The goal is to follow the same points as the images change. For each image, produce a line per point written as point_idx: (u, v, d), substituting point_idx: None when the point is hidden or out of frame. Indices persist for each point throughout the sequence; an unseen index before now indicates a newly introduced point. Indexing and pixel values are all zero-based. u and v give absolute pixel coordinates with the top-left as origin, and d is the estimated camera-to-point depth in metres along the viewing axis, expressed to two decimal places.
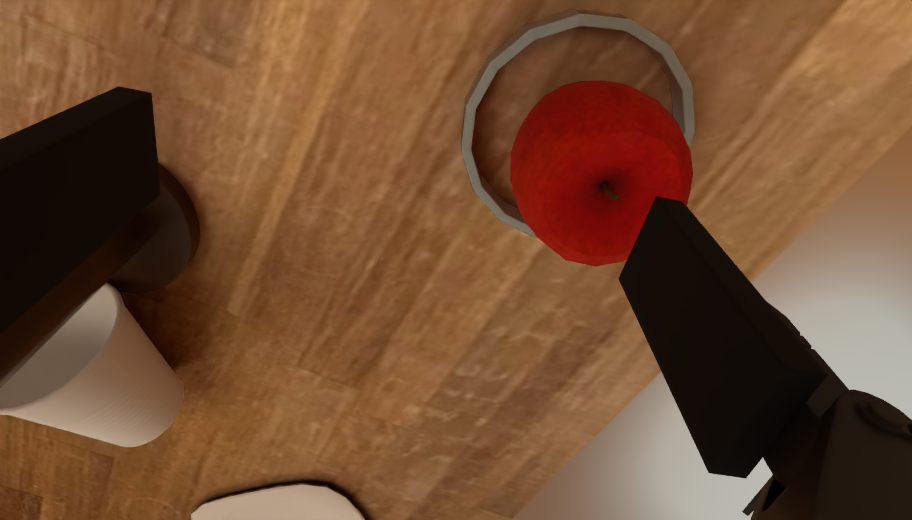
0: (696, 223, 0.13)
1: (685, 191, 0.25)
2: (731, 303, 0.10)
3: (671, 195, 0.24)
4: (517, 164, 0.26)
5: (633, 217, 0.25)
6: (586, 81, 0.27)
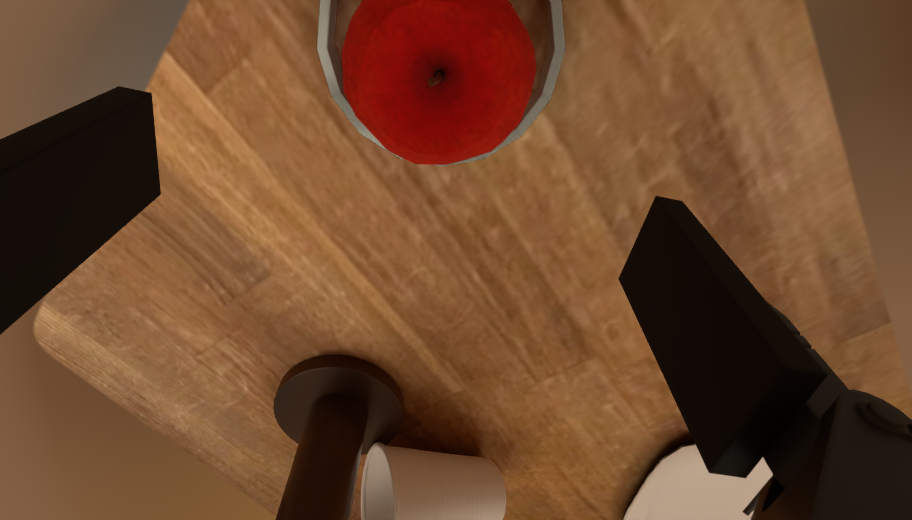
0: (696, 223, 0.13)
1: None
2: (731, 303, 0.10)
3: (466, 18, 0.21)
4: None
5: (475, 67, 0.22)
6: None
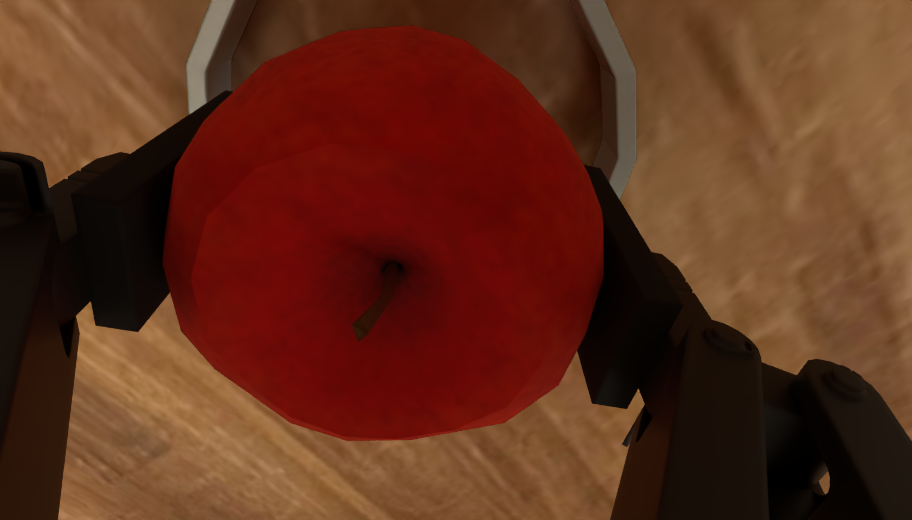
0: (606, 186, 0.14)
1: (467, 139, 0.08)
2: (615, 249, 0.11)
3: (447, 186, 0.08)
4: None
5: (471, 281, 0.09)
6: None
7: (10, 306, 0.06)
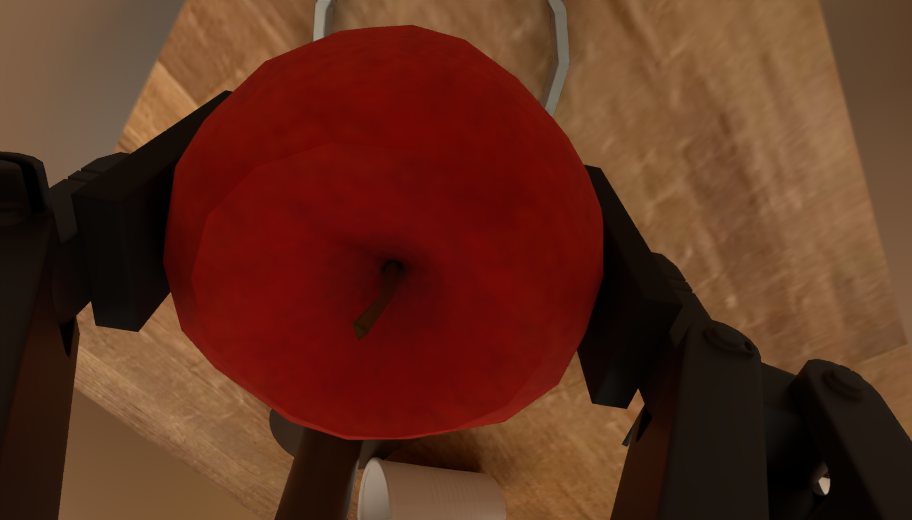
0: (606, 185, 0.14)
1: (467, 138, 0.08)
2: (615, 249, 0.11)
3: (446, 185, 0.08)
4: None
5: (471, 281, 0.09)
6: None
7: (10, 306, 0.06)
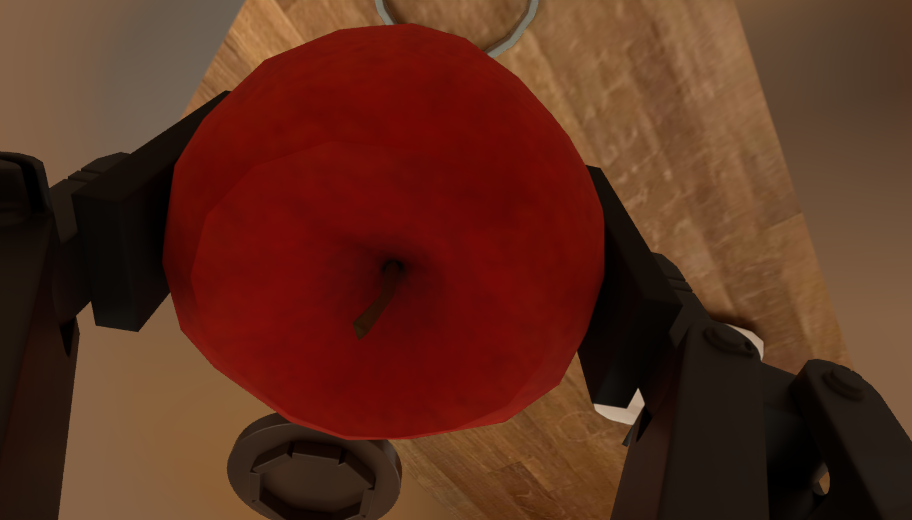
0: (606, 185, 0.14)
1: (468, 136, 0.08)
2: (615, 249, 0.11)
3: (448, 184, 0.08)
4: None
5: (472, 280, 0.09)
6: None
7: (10, 306, 0.06)
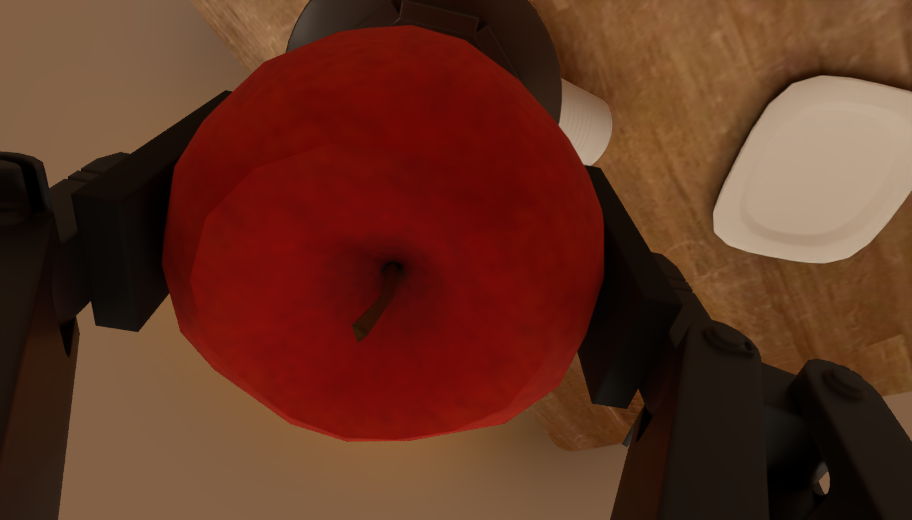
0: (606, 185, 0.14)
1: (467, 138, 0.08)
2: (615, 249, 0.11)
3: (447, 187, 0.08)
4: None
5: (471, 282, 0.09)
6: None
7: (10, 306, 0.06)
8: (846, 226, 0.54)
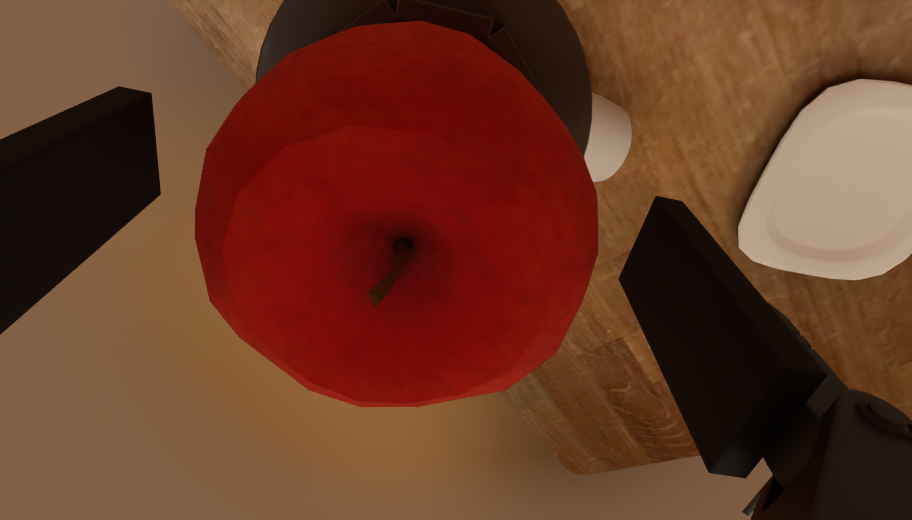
0: (696, 223, 0.13)
1: (474, 121, 0.09)
2: (731, 303, 0.10)
3: (455, 165, 0.09)
4: None
5: (476, 254, 0.10)
6: None
7: None
8: (881, 240, 0.50)
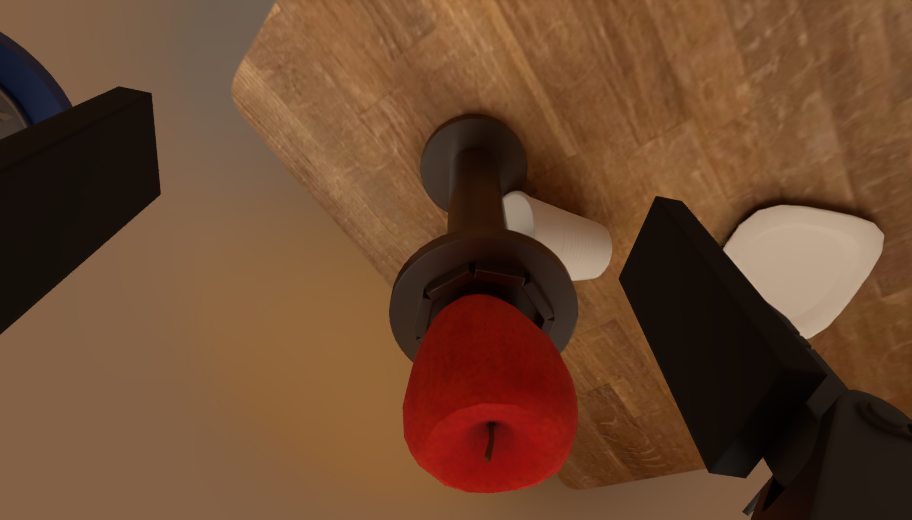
0: (696, 223, 0.13)
1: (528, 398, 0.23)
2: (731, 303, 0.10)
3: (520, 413, 0.24)
4: None
5: (526, 437, 0.25)
6: (420, 345, 0.29)
7: None
8: (807, 313, 0.64)
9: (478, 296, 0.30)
